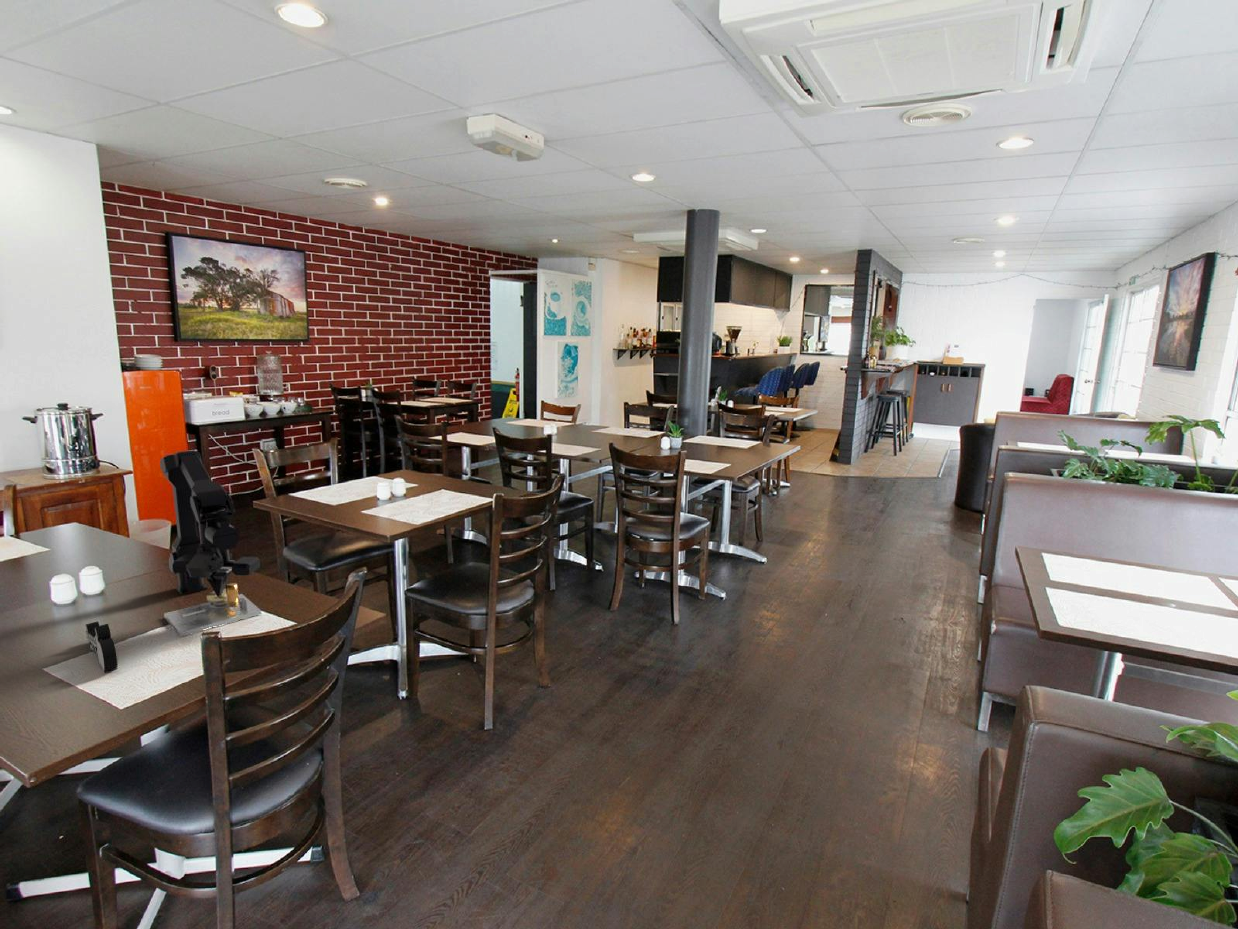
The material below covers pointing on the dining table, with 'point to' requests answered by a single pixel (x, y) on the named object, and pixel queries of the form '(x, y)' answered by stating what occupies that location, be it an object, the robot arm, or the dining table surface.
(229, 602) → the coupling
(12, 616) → the dining table surface
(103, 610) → the dining table surface
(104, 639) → the logo
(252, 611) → the base
